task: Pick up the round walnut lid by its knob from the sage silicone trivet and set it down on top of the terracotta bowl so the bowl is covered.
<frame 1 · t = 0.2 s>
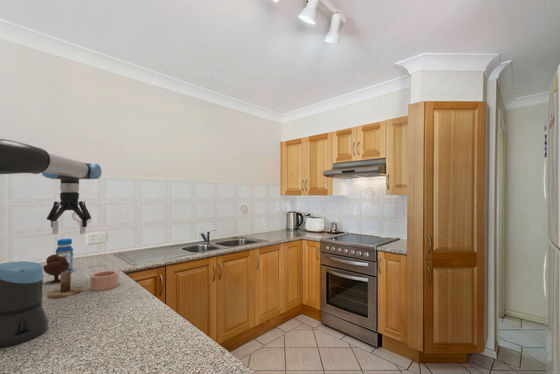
hand: (68, 233, 133), 27 cm above the countertop, fingers open, 13 cm apart
bowl: (104, 288, 130), on the countertop
trivet: (65, 294, 122), on the countertop
beverage bottle: (64, 273, 158), on the countertop
brown tree figurine: (56, 283, 139), on the countertop
lid: (65, 293, 122), point 1 cm above the countertop, touching trivet
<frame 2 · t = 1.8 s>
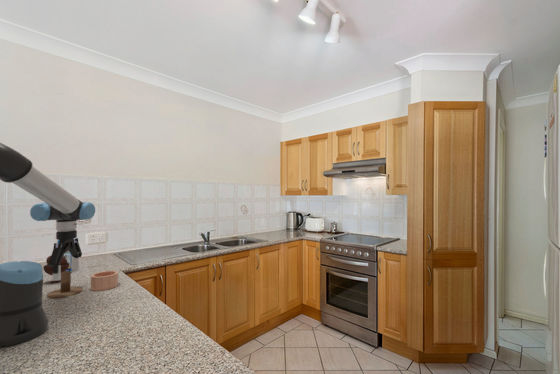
hand: (66, 275, 123), 9 cm above the countertop, fingers open, 13 cm apart
nothing on the countertop moved.
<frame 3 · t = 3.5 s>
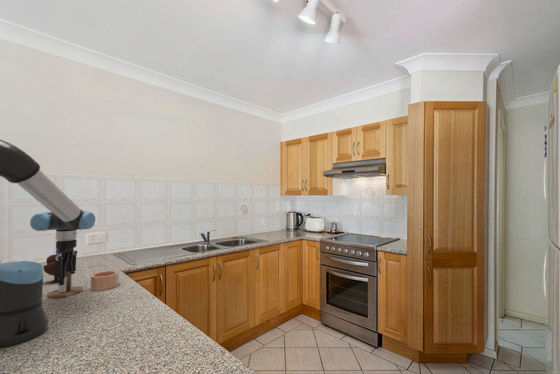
hand: (65, 289, 122), 2 cm above the countertop, fingers closed on lid, 4 cm apart
lid: (65, 293, 122), point 1 cm above the countertop, touching gripper, trivet
everything else where it was.
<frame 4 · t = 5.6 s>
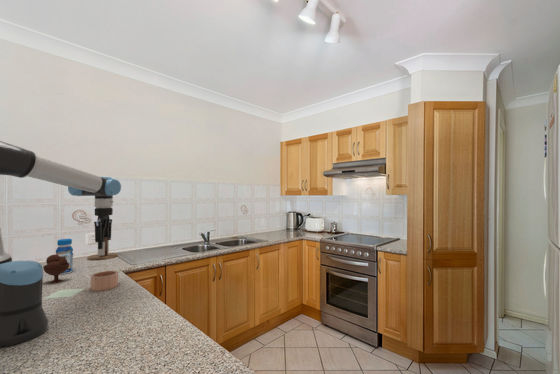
hand: (103, 254, 131), 17 cm above the countertop, fingers closed on lid, 4 cm apart
lid: (103, 257, 131), point 15 cm above the countertop, touching gripper
everything else where it was.
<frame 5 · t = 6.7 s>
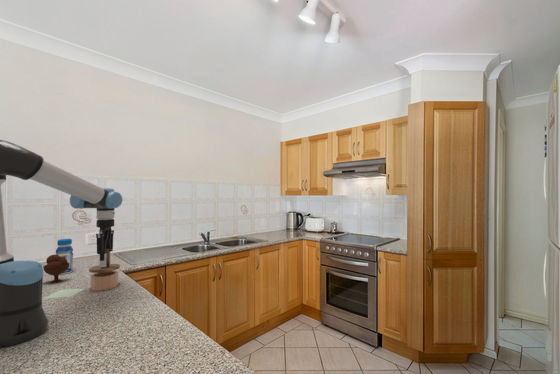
hand: (105, 265, 131), 11 cm above the countertop, fingers closed on lid, 4 cm apart
lid: (105, 268, 131), point 9 cm above the countertop, touching gripper
everything else where it was.
when the fingers open (10 cm above the countertop, at t = 7.5 s): lid drops 1 cm, resting on bowl.
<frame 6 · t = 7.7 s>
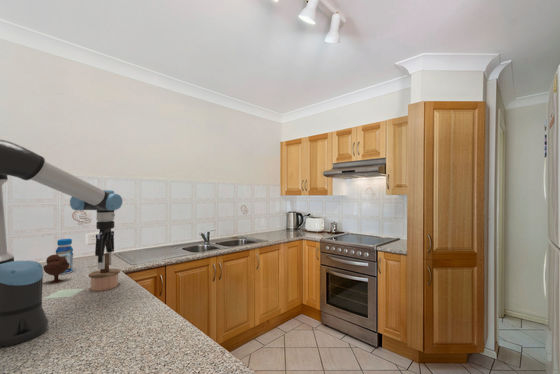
hand: (104, 266, 131), 10 cm above the countertop, fingers open, 7 cm apart
lid: (104, 273, 131), point 7 cm above the countertop, touching bowl
everything else where it was.
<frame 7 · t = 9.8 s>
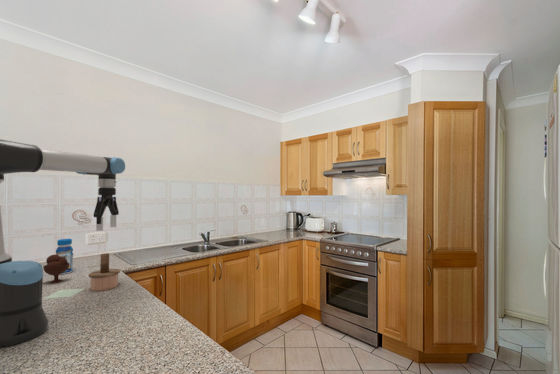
hand: (106, 228, 134), 29 cm above the countertop, fingers open, 13 cm apart
nothing on the countertop moved.
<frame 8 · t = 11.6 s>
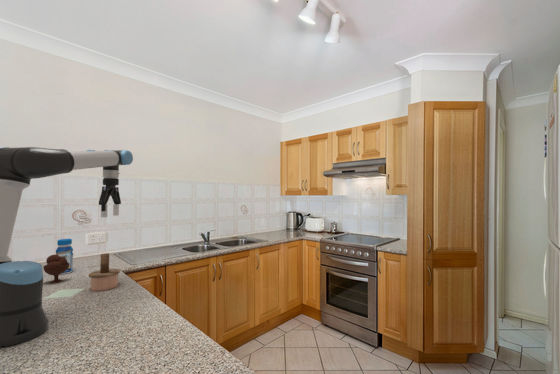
hand: (110, 216, 145), 35 cm above the countertop, fingers open, 13 cm apart
nothing on the countertop moved.
at the end: lid 0.0 cm off-centre on the bowl, point 7.0 cm above the bowl's base; lid tilted 0°; the gripper is holding nothing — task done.
